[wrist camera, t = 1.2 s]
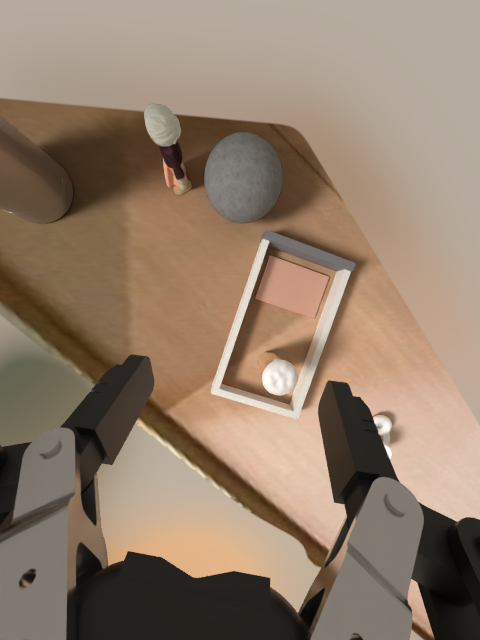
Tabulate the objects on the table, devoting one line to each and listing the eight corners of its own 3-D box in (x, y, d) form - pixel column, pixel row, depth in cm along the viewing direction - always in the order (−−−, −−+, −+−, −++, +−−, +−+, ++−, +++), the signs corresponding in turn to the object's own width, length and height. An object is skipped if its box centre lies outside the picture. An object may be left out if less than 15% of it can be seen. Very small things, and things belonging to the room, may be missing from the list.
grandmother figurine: (155, 163, 34) (115, 82, 21) (178, 151, 34) (153, 63, 21) (182, 212, 35) (158, 162, 22) (204, 200, 35) (194, 143, 22)
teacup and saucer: (377, 404, 40) (394, 416, 36) (399, 440, 41) (419, 456, 37) (335, 433, 40) (348, 448, 36) (358, 469, 41) (373, 487, 37)
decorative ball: (232, 245, 36) (236, 223, 26) (193, 188, 35) (181, 143, 25) (285, 207, 36) (309, 171, 26) (248, 150, 35) (258, 89, 25)
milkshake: (275, 338, 37) (294, 352, 27) (285, 369, 38) (307, 394, 28) (248, 348, 37) (257, 365, 27) (258, 379, 38) (271, 407, 28)
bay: (211, 387, 37) (210, 394, 34) (262, 235, 36) (266, 229, 33) (292, 411, 39) (298, 421, 36) (345, 266, 37) (355, 263, 34)
